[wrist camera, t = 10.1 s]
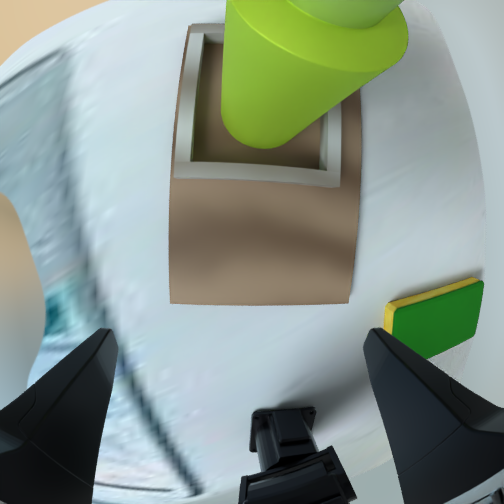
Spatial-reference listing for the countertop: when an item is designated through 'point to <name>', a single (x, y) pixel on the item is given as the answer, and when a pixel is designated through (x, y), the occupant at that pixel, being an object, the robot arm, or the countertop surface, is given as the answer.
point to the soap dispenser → (301, 61)
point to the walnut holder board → (258, 198)
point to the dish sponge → (436, 317)
